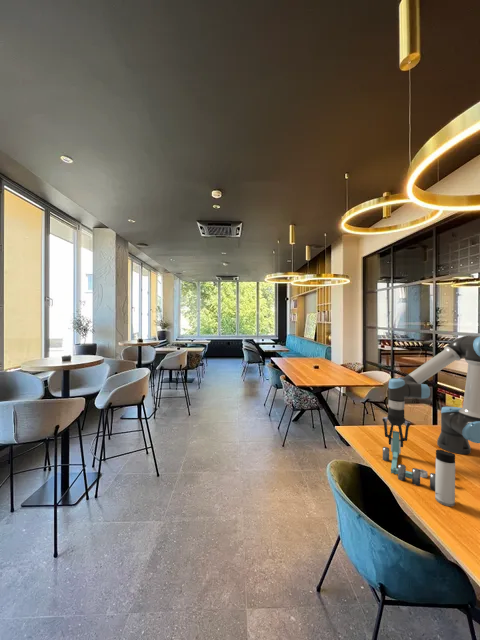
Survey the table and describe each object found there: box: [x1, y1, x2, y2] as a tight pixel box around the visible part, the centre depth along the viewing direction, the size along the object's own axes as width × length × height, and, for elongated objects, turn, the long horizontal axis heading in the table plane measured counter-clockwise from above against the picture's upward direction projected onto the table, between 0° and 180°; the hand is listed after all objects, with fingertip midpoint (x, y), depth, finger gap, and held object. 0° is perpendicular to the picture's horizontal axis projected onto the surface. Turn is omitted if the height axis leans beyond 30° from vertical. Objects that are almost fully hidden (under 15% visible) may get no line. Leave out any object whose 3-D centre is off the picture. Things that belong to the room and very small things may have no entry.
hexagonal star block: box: [418, 468, 429, 479], centre depth 129 cm, size 4×5×2 cm
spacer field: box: [382, 446, 436, 492], centre depth 130 cm, size 26×20×6 cm
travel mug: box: [434, 449, 456, 507], centre depth 110 cm, size 6×7×20 cm
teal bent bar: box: [390, 430, 412, 480], centre depth 138 cm, size 24×10×12 cm, turn 148°
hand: (395, 451), depth 149 cm, fingers closed on teal bent bar, 3 cm apart
